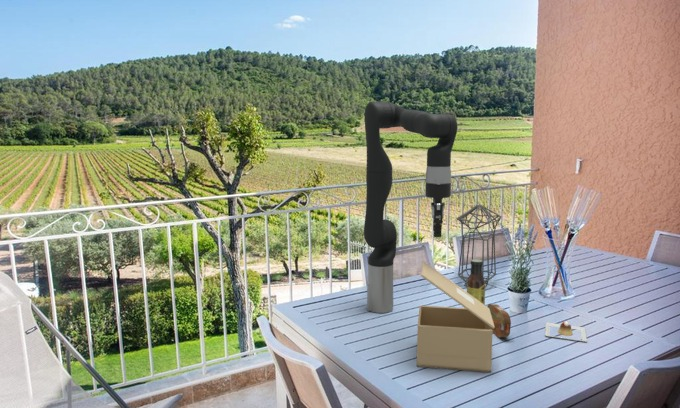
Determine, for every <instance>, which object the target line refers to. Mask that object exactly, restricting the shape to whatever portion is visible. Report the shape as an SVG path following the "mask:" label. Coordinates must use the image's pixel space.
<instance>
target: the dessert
mask: <svg viewBox="0 0 680 408" xmlns="http://www.w3.org/2000/svg"><path fill="white" fill-rule="evenodd" d="M551 327H553V328H554V327H555V328H558V330H557V333H558V334H559V335H561V336H565V337H560V336H553V335H551V333H550V332H551V331H550V330H551ZM573 330H578V331H580V336H581V339H574V338H568V337H570V336H574V333H573ZM544 333H545V334H544V336H546V337H548V338H554V339H555V338H556V339H560V340H561V339H562V340H569V341H575V342H576V341H577V342H583V343H587V341H588V340H587V333H586V327H583V326H575V325H571V324H570V323H569V321H567V320H566V321H562V322H561V323H553V322H545V331H544ZM566 336H567V337H566Z"/></svg>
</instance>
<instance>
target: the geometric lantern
mask: <svg viewBox="0 0 680 408" xmlns="http://www.w3.org/2000/svg"><path fill="white" fill-rule="evenodd" d="M480 212H481V213H480ZM479 213H480V214H479ZM491 213H492V214H494V215H492V214H491ZM469 215H471V216H470V218H469V219H468V216H469ZM473 217H474V218H475V221H471V220H472V218H473ZM479 217H481V218H479ZM483 217H485V218H486V221H483ZM501 219H502V215H500V214H498V213H496V212H495V211H493V210H491V209H489V208H487V207H485V206H484V205H482V204H480V203H479V204H475V205H474V206H473V207H471V208H470V209H469V210H467V211H466V212H464V213H463V214H461V215H459V216H458V217H456V218H455V220H456V221H458V222H460V225H461V238H462V239H461V246H460V247H461V249H460V255H459V265H458V266H459V267H458V273H457V274H458V275H457V276H458V277H459V278H460V279H461V280H462V281H463V282H464V284H463V285H464V287H467V283H468V281H467V280H468V277H469V275H470V274H469V272H468V271H471V268H468V261H469V253H470V243H471V240H472V250H471V251H472V253H471V260H474V250H475V240H478V241H482V259H481V260H482V261H483V265H482V274H483V275H484V273H487V277H484V280H485V288H486V287H487V286H488V285H489V281H491V280H492V279H493V278H494V277H495V276H496V275H497V273H496V272H497V267H496V264H497V263H496V242H495V241H496V239H495V234H496V229H497V227H498V224H499V222H500V221H501ZM470 224H474V227H470ZM476 224H477V225H476ZM491 224H492V227H491ZM487 225H488V226H489V229H490V230H491V231H490V233H489V232H480V231H479V230H478V229H480V228H482V227H484V226H487ZM464 226H466V228H468V229H469V230H468V231H467V232H466V233H464V229H463V227H464ZM472 230H473V231H472ZM475 233H476V234H478V235H479V236H480V238H475ZM471 234H473V235H472V237H471ZM482 234H483V235H489V236H488V237H487V239H485V238H483V236H482ZM467 235H468V236H467ZM466 239H468V244H467V253H466V260H465V261H466V264H465V269H464V258H465V255H464V254H465V240H466ZM490 239H491V264H490V259H489V257H490V254H489V250H490V249H489V240H490ZM485 241H486V253H487V254H486V256H487V258H486V259H487V270H484V268H485V267H484V265H485V264H484V263H485V261H484V260H485V259H484V258H485V255H484V253H485ZM490 265H491V266H490ZM493 265H494V266H493ZM490 267H491V268H490ZM493 267H494V271H493ZM465 272H466V274H467V277H466V276H463V275H464V273H465ZM491 274H493V275H492V276H490V275H491Z"/></svg>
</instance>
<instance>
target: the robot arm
mask: <svg viewBox="0 0 680 408" xmlns="http://www.w3.org/2000/svg"><path fill="white" fill-rule="evenodd" d="M363 115H364V118H363V119H364V130H365V141H366V144H365V145H366V167H365V168H366V170H365V174H366V175H365V176H366V177H365V178H366V179H365V181H366V195H365V196H366V199H365V200H366V201H365V204H366V205H365V216H364V217H365V218H364V225H363V236H364V240H365V242H366V244H367V245H368V247H371V248H373V250H372V252H371V253H370V254H369V255H368V258H367V286H366V294H367V295H366V296H367V297H366V310H367V312H371V313H377V314H378V313H379V314H386V313H390V312H392V311H393V310H394V260H395V258H396V253H397V241H398V240H397V236H398V234H397V228H396V225H395V224H394V222H392V221H391V220H389V219H384V214H385V213H384V212H385V206H386V204H387V203H386V202H387V200H388V198H389V195H390V193H391V189H392V186H393V165H392V162H391V160H390V158H389V156H388V154H387V153H386V150H385V149H384V147H383V145H382V142H381V133H380V132H381V131H380V129H390V128H392V129H393V128H403V130H405V131H407V132H410V133H414V134H419V135H421V136H422V137H424V138H429V139H438V141H437V143H436V144H435V145H432V146H430V147H428V149H427V151H426V169H425V170H426V171H425V194H424V195H425V197H427V198H430V199H432V202H430V208H431V218H432V219H433V221H432V224H433V226H432V227H433V229H432V231H433V237H434V238H441V237H442V230H443V229H442V225H443V223H444V221H443V219H444V217H445V216H444V215H445V211H444V210H445V208H446V207H445V202H443V199H448V198H450V197H451V195H452V170H451V169H452V168H451V166H452V165H451V163H452V159H451V158H452V151H453V150H452V149H453V146H454V144H455V140H456V137H457V135H458V134H457V133H458V122H457V119H456V118H455V116H454V115H452V114H448V113H429V112H427V111H423V110H419V109H418V110H417V109H409V108H404V107H401V106H400V105H398V104H396V103H393V102H389V101H369V102H367V104H366V105H365V108H364V114H363Z"/></svg>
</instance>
